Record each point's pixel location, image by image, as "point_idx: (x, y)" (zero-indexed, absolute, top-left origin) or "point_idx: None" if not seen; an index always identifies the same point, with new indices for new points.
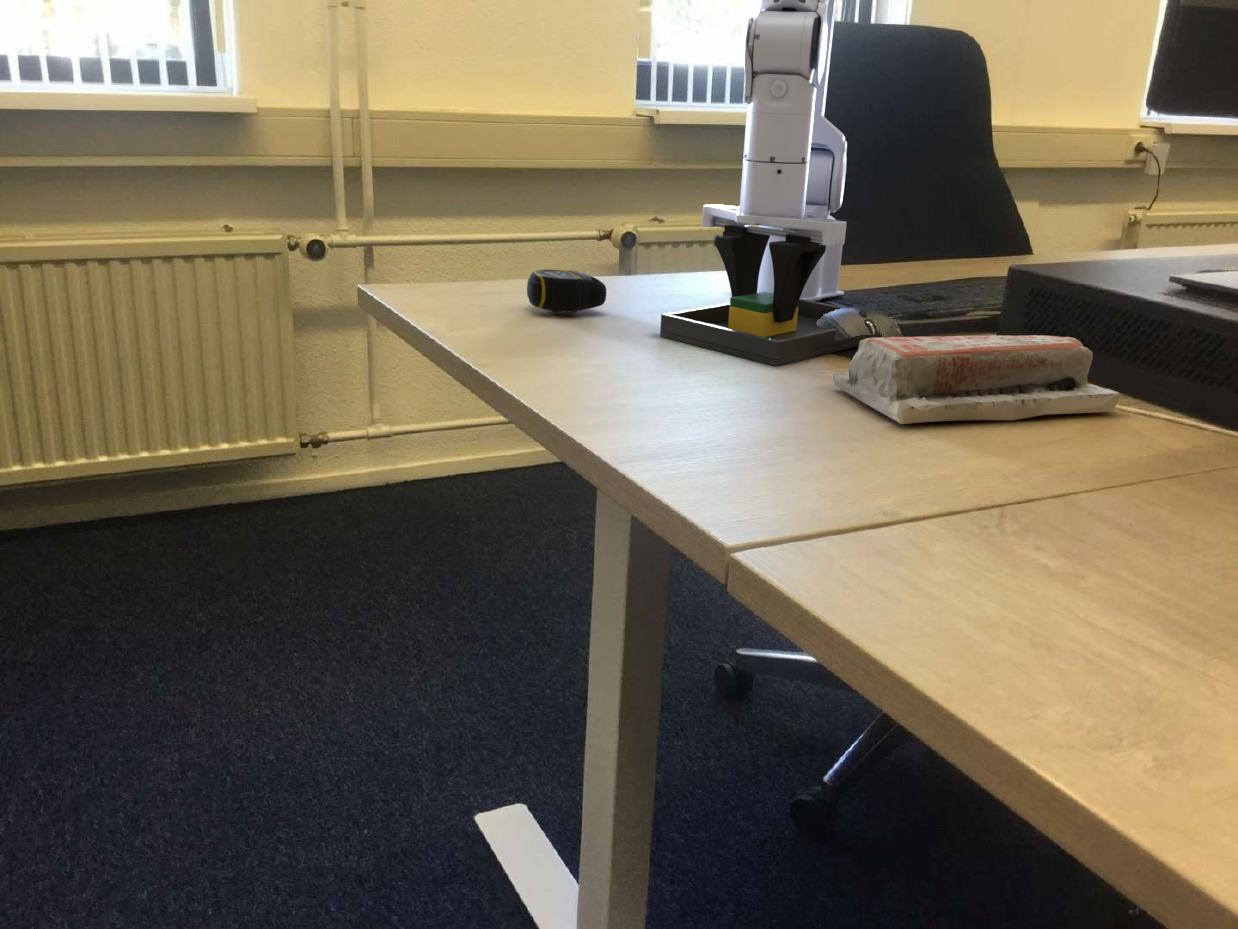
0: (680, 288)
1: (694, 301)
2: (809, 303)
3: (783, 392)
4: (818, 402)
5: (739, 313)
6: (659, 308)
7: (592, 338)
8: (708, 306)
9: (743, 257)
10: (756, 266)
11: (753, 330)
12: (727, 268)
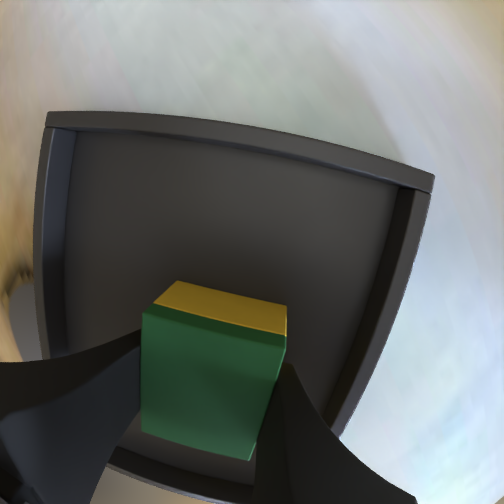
0: (466, 494)
1: (440, 469)
2: (214, 496)
3: (39, 21)
4: (7, 31)
5: (246, 318)
6: (485, 400)
7: (484, 73)
8: (374, 365)
9: (268, 491)
10: (254, 498)
11: (201, 291)
12: (327, 437)
